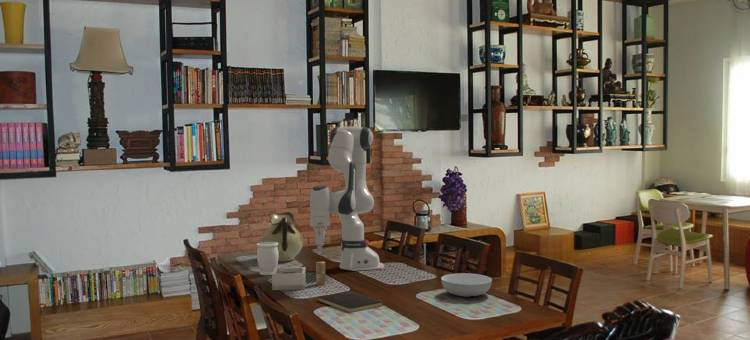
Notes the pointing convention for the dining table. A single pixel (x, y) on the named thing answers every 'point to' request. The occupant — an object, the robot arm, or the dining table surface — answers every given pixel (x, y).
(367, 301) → the hardcover book
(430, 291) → the dining table surface
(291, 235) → the beige rounded piece
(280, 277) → the white square box
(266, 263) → the jar
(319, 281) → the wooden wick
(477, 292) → the serving bowl
